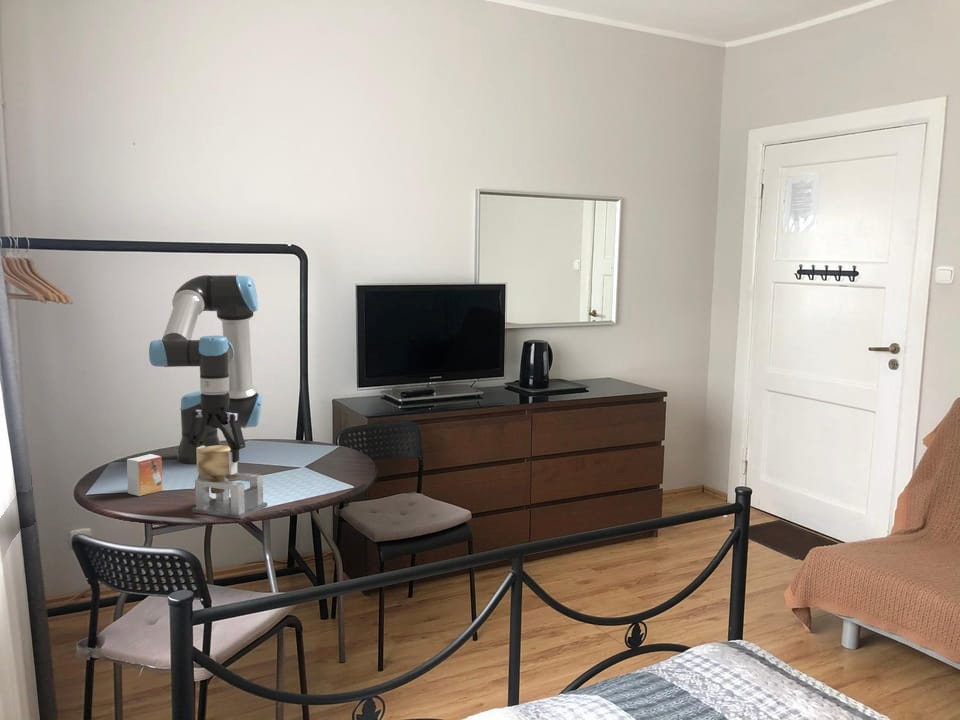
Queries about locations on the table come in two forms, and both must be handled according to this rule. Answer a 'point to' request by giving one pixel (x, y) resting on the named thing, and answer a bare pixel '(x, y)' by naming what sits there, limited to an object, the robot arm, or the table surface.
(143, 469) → the small box
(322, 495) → the table surface
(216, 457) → the mushroom peg
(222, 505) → the fork bracket
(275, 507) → the table surface
